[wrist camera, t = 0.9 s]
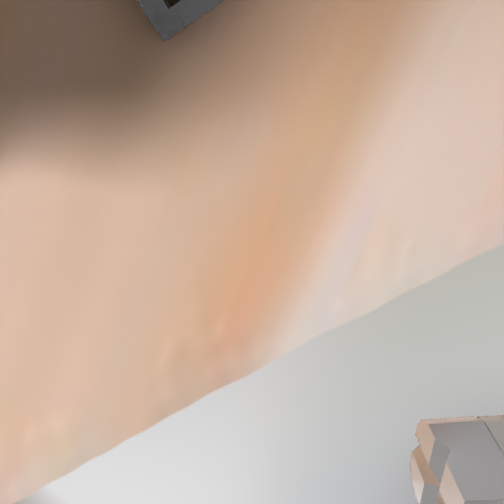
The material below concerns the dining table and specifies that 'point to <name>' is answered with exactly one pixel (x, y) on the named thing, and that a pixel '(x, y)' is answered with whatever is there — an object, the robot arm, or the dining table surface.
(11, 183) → the dining table surface
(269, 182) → the dining table surface
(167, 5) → the socket block
